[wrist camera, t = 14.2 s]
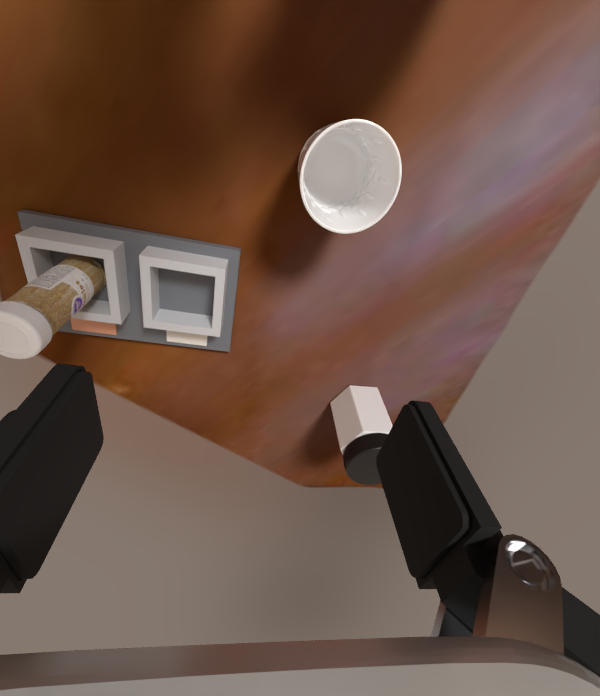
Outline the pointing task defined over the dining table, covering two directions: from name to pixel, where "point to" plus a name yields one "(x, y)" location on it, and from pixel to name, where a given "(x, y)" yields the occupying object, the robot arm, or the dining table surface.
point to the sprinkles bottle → (47, 305)
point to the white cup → (349, 175)
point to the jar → (361, 431)
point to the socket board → (140, 280)
